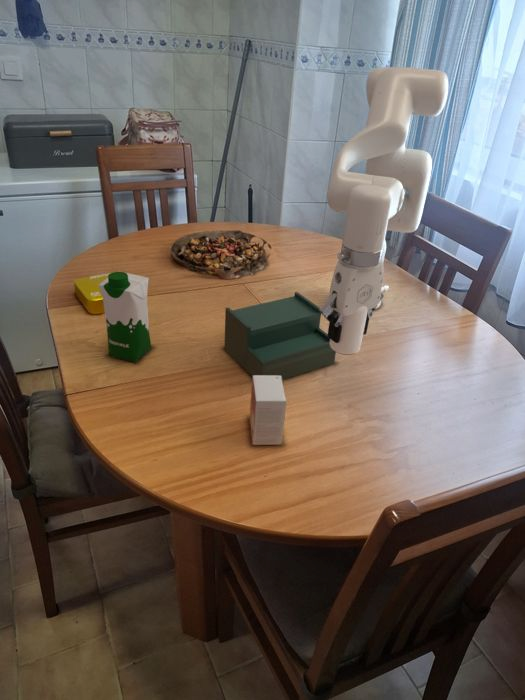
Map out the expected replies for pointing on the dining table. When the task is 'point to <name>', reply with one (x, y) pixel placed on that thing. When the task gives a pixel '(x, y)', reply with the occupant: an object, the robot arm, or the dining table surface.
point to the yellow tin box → (91, 292)
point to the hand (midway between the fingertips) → (346, 334)
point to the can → (351, 332)
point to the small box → (267, 409)
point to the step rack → (278, 337)
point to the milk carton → (126, 315)
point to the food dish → (220, 253)
